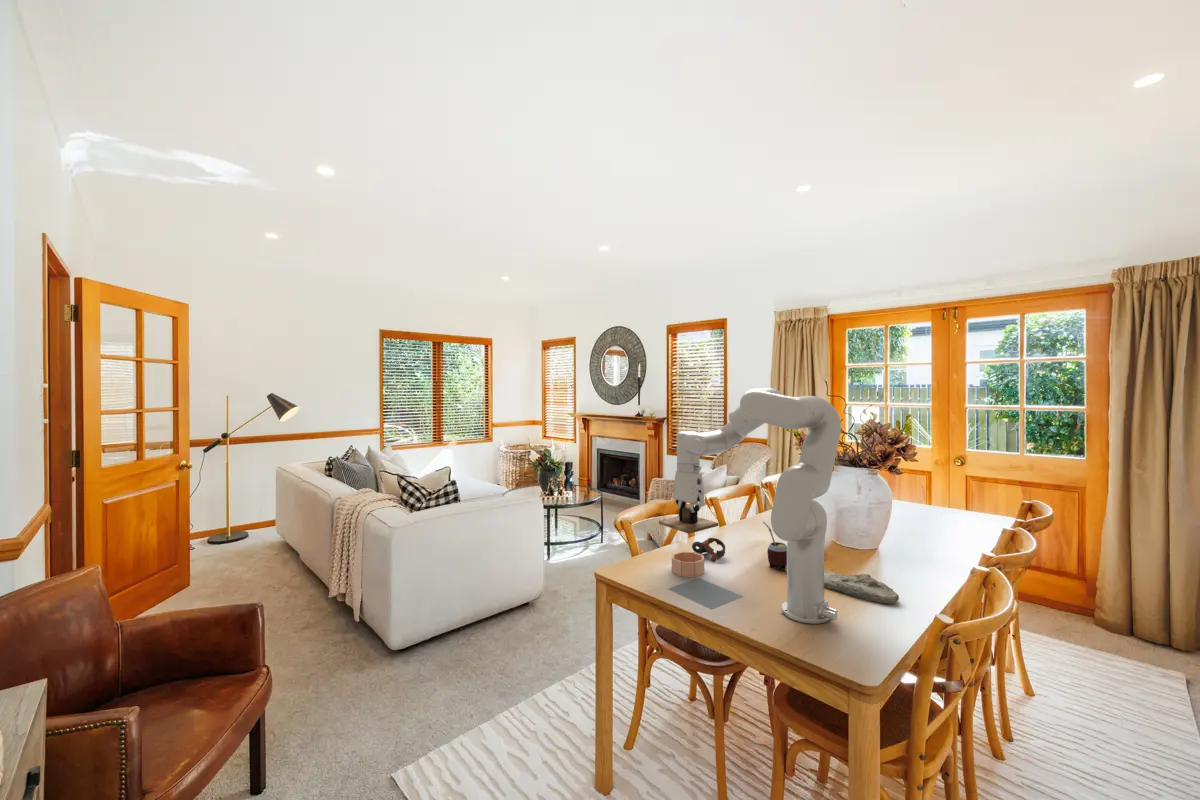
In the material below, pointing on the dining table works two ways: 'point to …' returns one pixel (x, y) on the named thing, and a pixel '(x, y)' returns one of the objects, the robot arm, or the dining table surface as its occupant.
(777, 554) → the mate gourd
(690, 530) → the lid
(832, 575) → the long grey stone
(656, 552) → the dining table surface
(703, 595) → the mat
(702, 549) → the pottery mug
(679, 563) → the bowl
